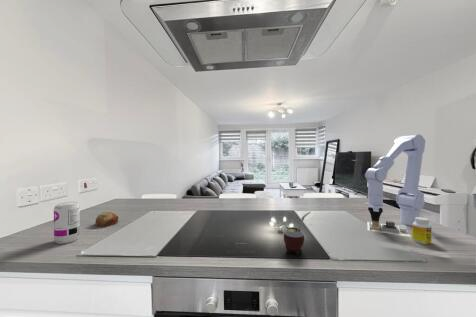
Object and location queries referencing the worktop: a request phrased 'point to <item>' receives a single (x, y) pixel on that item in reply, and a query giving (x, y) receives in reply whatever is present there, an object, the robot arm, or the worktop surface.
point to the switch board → (388, 229)
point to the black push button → (390, 224)
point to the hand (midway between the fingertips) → (375, 223)
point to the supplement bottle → (421, 231)
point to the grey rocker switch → (402, 228)
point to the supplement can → (66, 222)
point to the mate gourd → (294, 238)
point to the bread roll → (106, 219)
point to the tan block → (375, 225)
